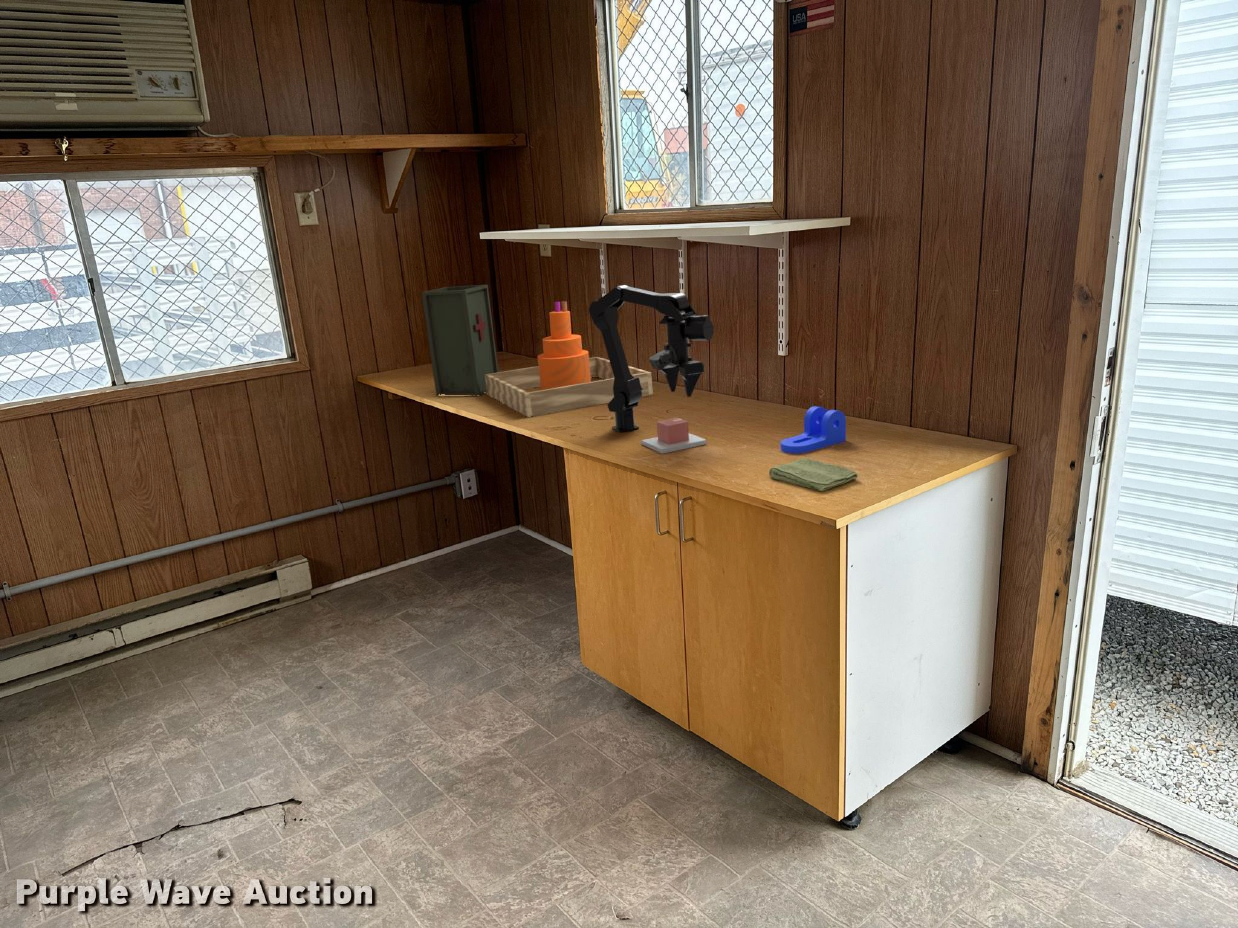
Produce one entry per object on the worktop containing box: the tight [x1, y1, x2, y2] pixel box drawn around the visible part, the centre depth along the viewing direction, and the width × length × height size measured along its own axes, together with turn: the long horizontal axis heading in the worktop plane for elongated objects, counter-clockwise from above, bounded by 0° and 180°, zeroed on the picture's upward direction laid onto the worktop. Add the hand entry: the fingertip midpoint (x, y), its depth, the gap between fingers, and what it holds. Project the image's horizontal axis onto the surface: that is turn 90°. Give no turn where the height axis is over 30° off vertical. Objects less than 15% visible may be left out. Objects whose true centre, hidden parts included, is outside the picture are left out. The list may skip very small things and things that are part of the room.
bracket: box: [780, 405, 847, 455], centre depth 221 cm, size 18×8×9 cm, turn 123°
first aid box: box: [421, 284, 499, 396], centre depth 325 cm, size 18×18×40 cm
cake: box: [537, 301, 592, 390], centre depth 304 cm, size 20×19×35 cm
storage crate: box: [485, 356, 654, 418], centre depth 308 cm, size 47×47×8 cm
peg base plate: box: [641, 432, 707, 455], centre depth 233 cm, size 12×14×5 cm
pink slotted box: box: [656, 417, 690, 444], centre depth 233 cm, size 6×6×6 cm
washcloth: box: [768, 458, 859, 493], centre depth 196 cm, size 13×18×3 cm
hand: (680, 394), depth 239 cm, fingers open, 9 cm apart
